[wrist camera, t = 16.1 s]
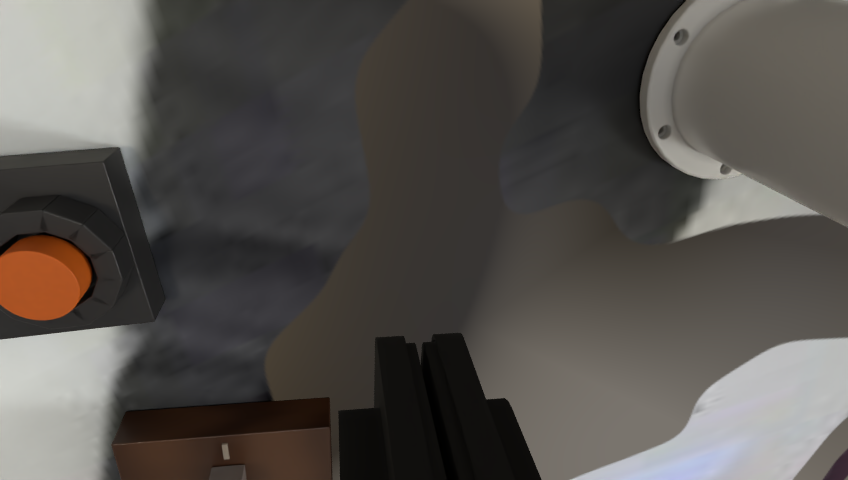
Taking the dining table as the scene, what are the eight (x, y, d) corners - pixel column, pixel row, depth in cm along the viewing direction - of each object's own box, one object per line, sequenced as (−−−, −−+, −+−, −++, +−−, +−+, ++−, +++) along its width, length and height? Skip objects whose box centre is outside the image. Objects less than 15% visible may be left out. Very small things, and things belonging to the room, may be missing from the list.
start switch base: (119, 146, 30) (88, 175, 26) (165, 299, 34) (144, 342, 31) (-145, 167, 28) (-221, 200, 24) (-60, 323, 33) (-112, 373, 29)
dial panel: (329, 396, 40) (329, 429, 37) (333, 498, 45) (333, 533, 42) (125, 411, 38) (109, 446, 35) (152, 516, 43) (140, 554, 40)
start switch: (78, 230, 27) (63, 246, 26) (102, 297, 29) (90, 315, 28) (-8, 238, 27) (-28, 255, 25) (22, 306, 29) (5, 325, 27)
